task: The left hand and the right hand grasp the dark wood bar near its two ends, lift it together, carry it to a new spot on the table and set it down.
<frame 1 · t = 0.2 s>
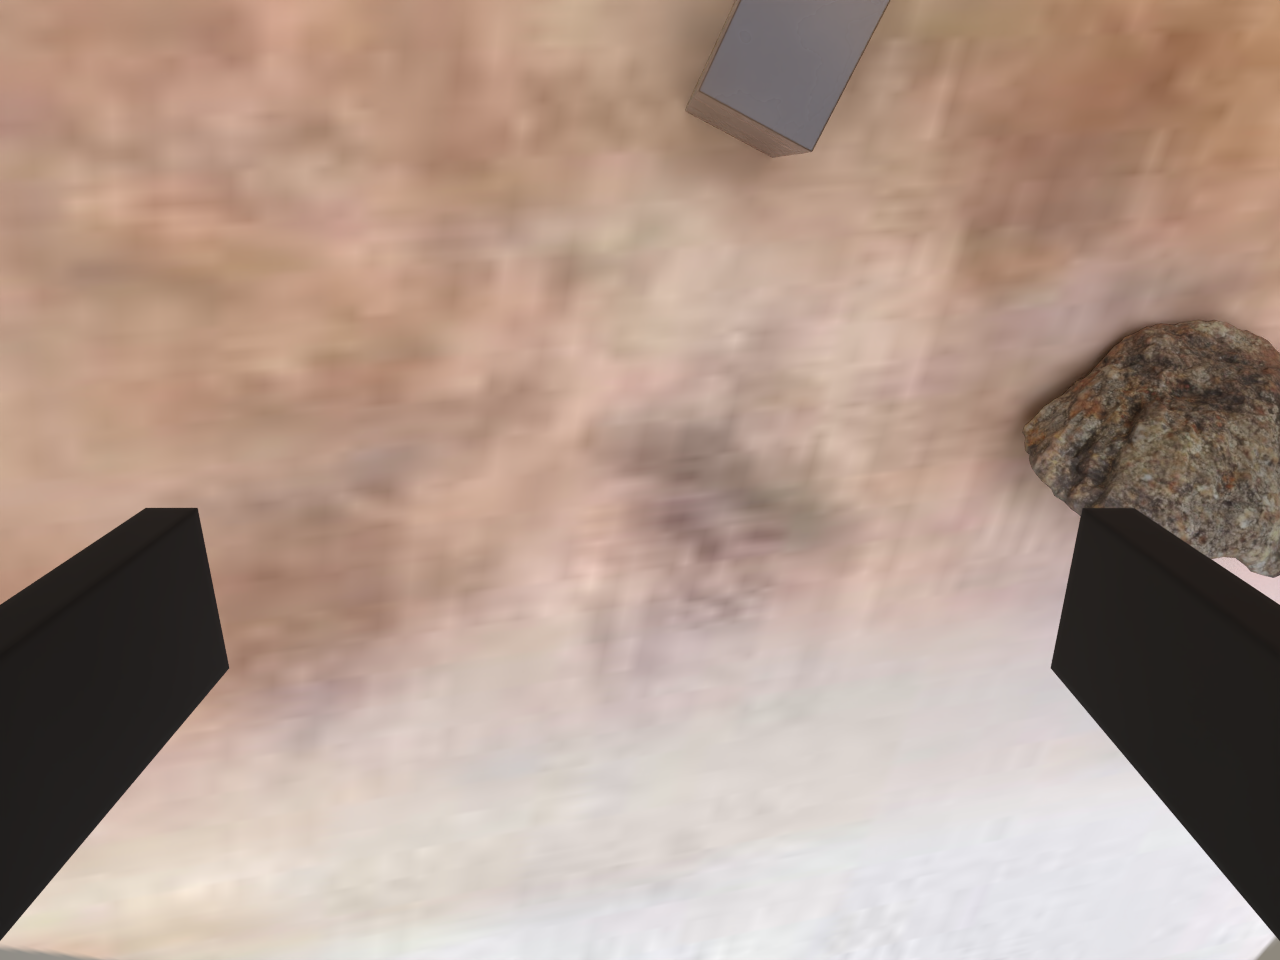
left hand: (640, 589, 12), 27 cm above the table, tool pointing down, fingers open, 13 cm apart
rock: (1164, 421, 40), on the table
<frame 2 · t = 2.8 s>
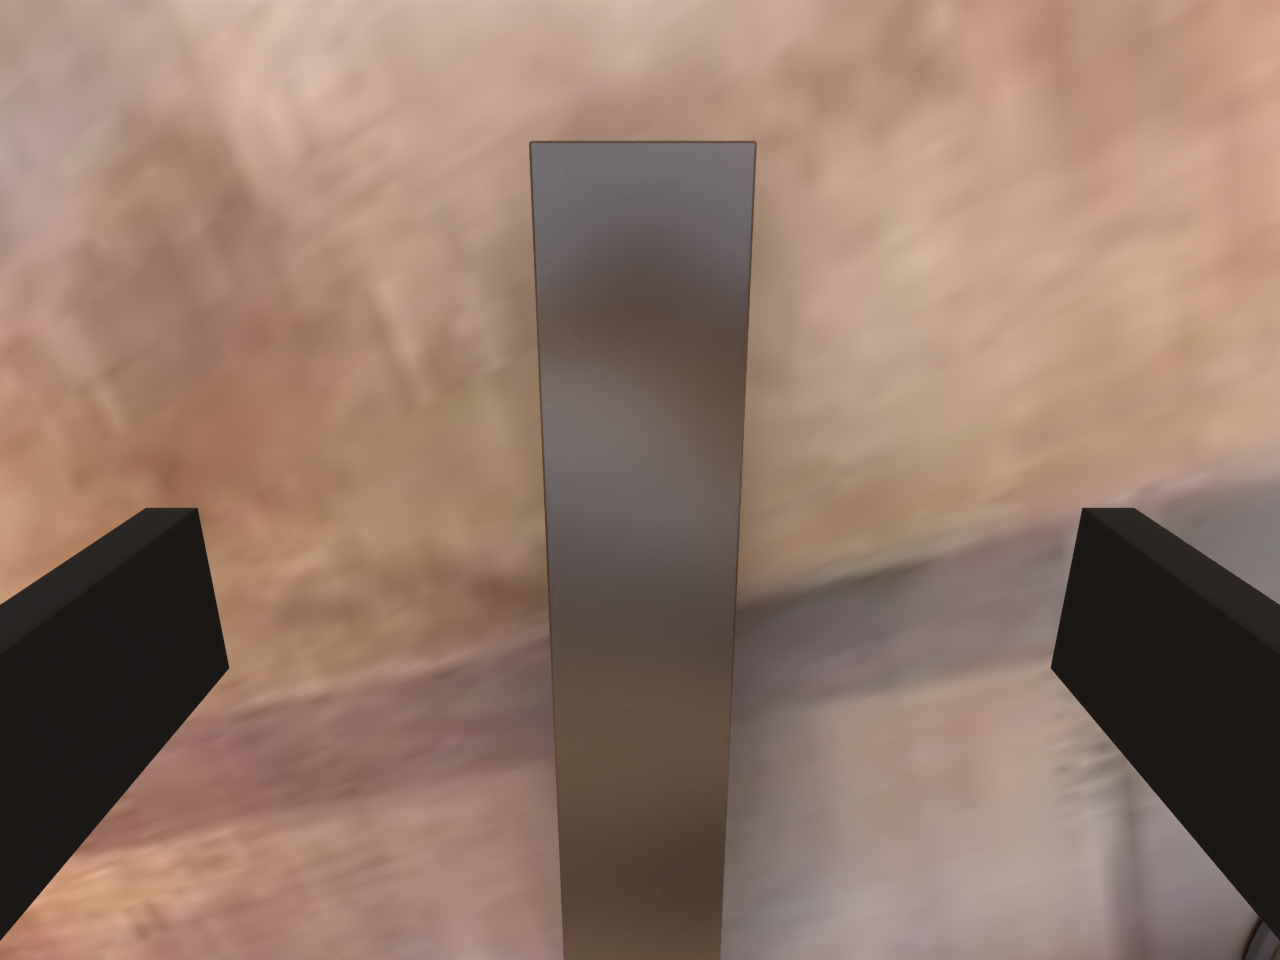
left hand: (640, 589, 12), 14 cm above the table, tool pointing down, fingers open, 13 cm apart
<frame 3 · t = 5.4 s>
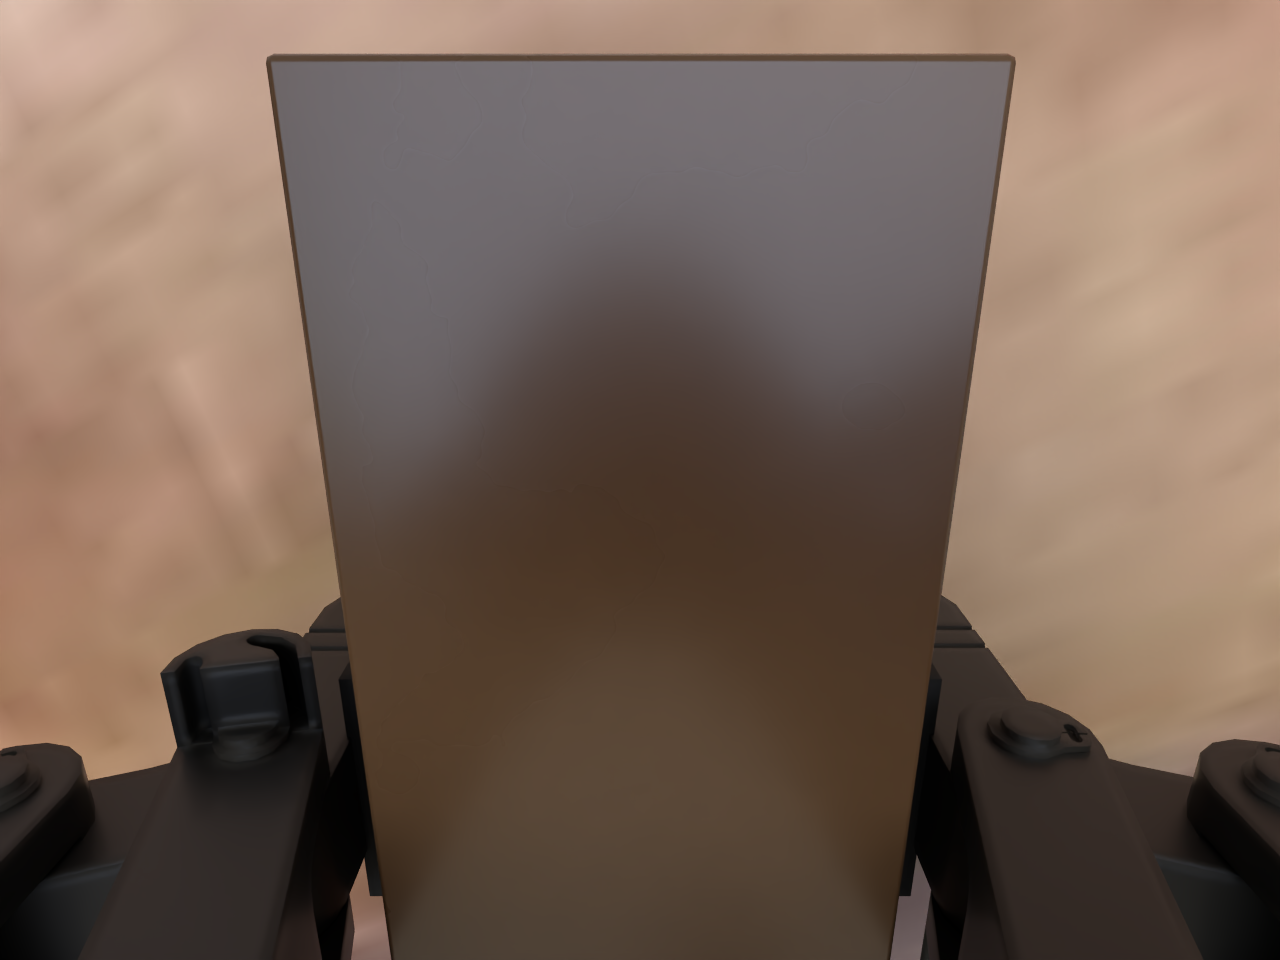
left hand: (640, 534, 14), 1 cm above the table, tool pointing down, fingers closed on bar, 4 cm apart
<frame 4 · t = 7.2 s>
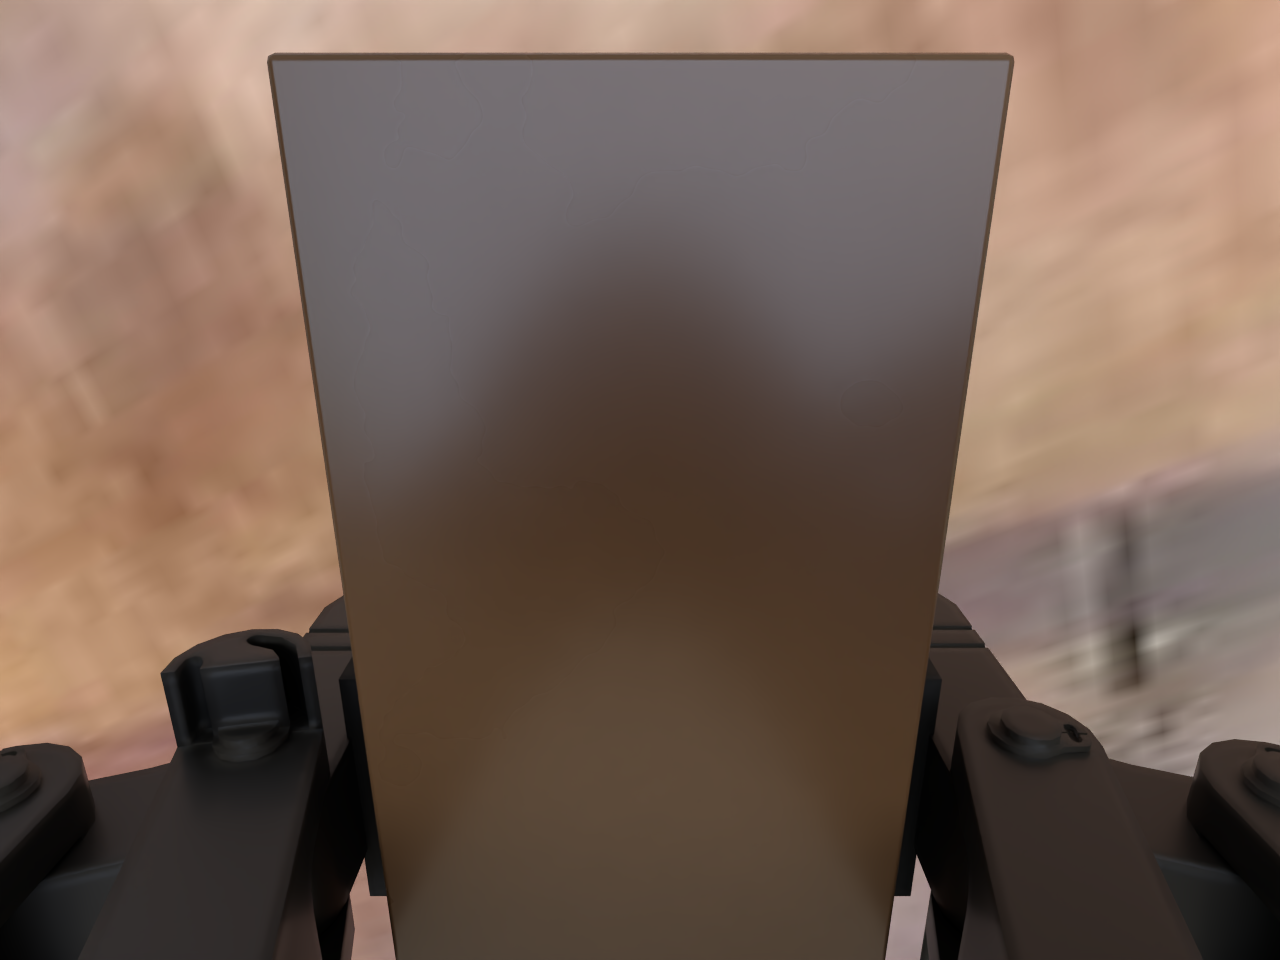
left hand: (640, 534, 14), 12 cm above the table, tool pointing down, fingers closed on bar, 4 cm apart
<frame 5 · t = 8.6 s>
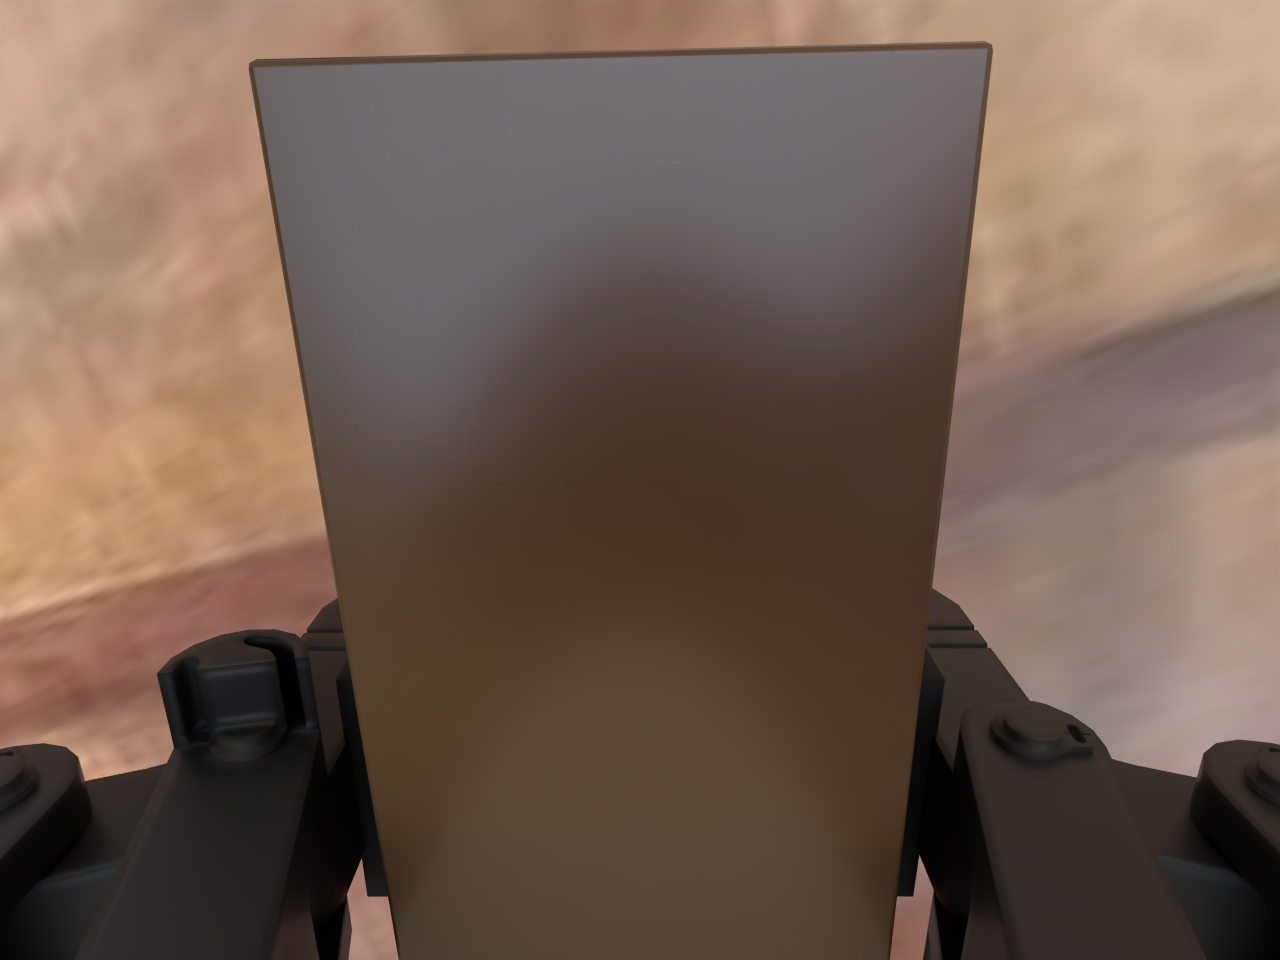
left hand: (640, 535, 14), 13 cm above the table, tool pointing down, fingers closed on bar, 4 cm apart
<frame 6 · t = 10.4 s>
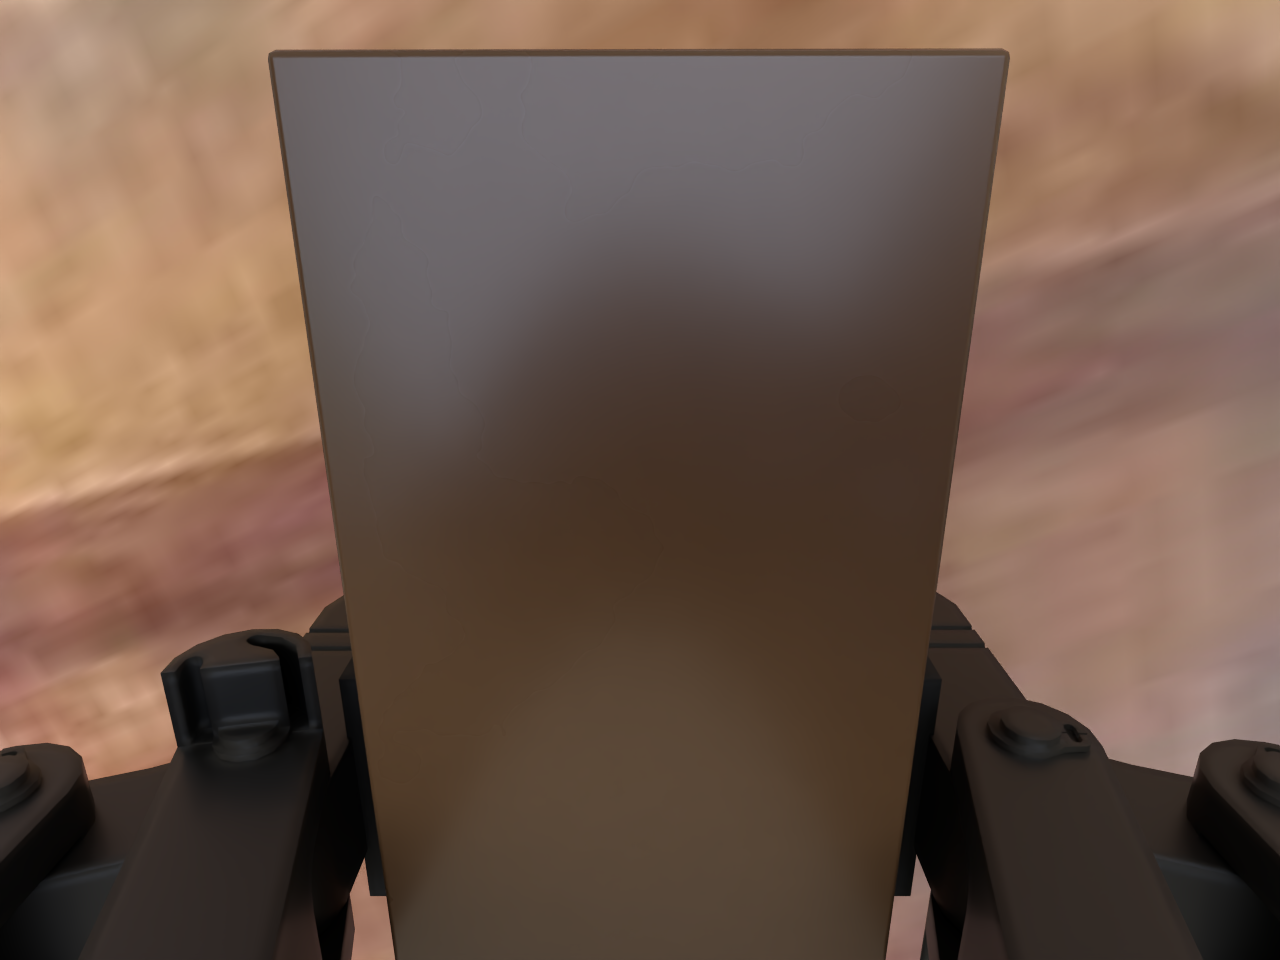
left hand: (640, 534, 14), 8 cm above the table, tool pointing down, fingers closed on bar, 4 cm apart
when the left hand's fingers open (2 cm above the table, at t = 11.6 s): bar drops 1 cm, on the table.
when the right hand's fingers open (5 cm above the table, at t = 11.7 s): bar stays where it is, on the table.
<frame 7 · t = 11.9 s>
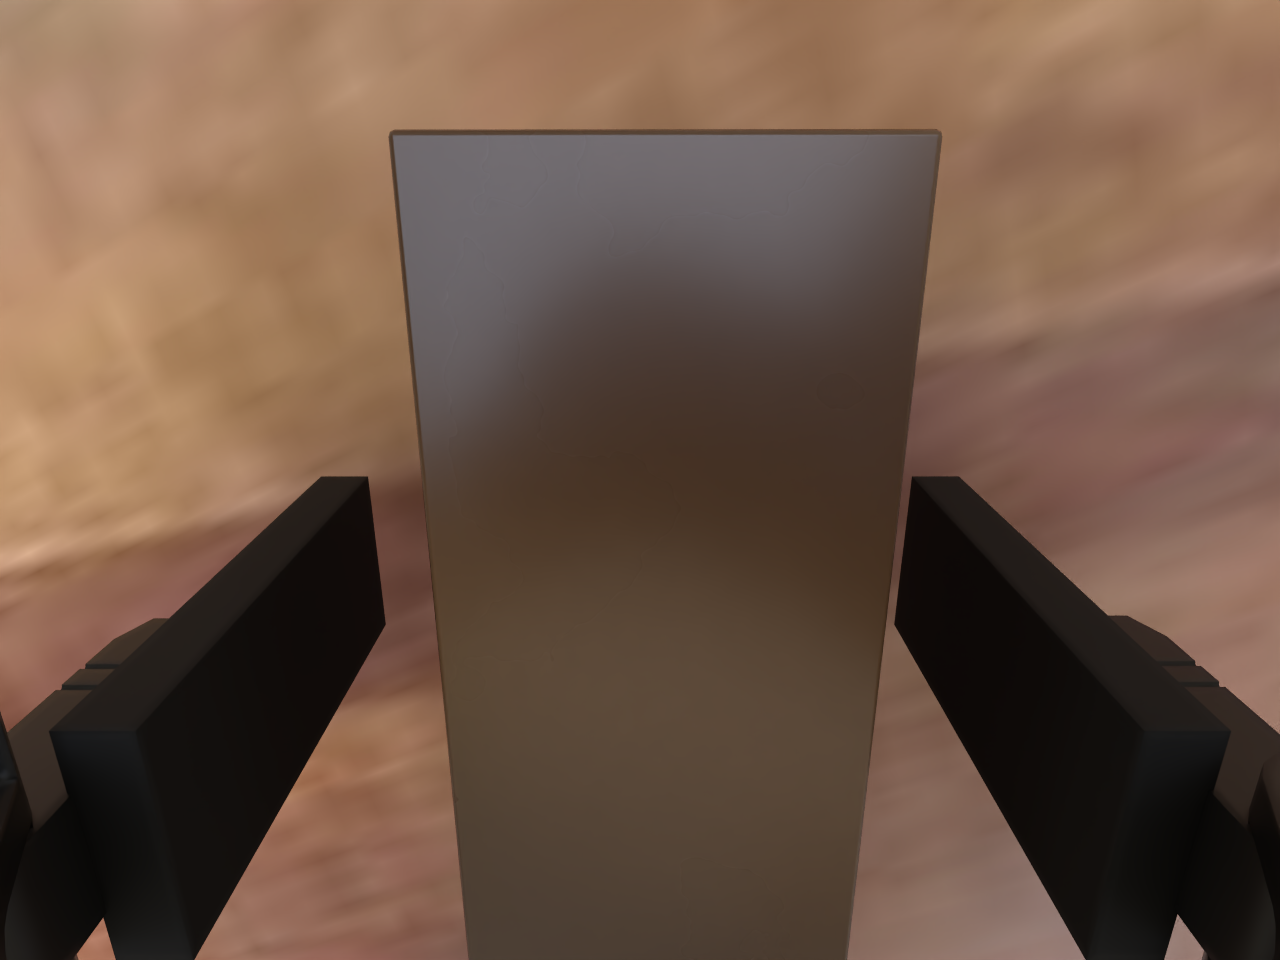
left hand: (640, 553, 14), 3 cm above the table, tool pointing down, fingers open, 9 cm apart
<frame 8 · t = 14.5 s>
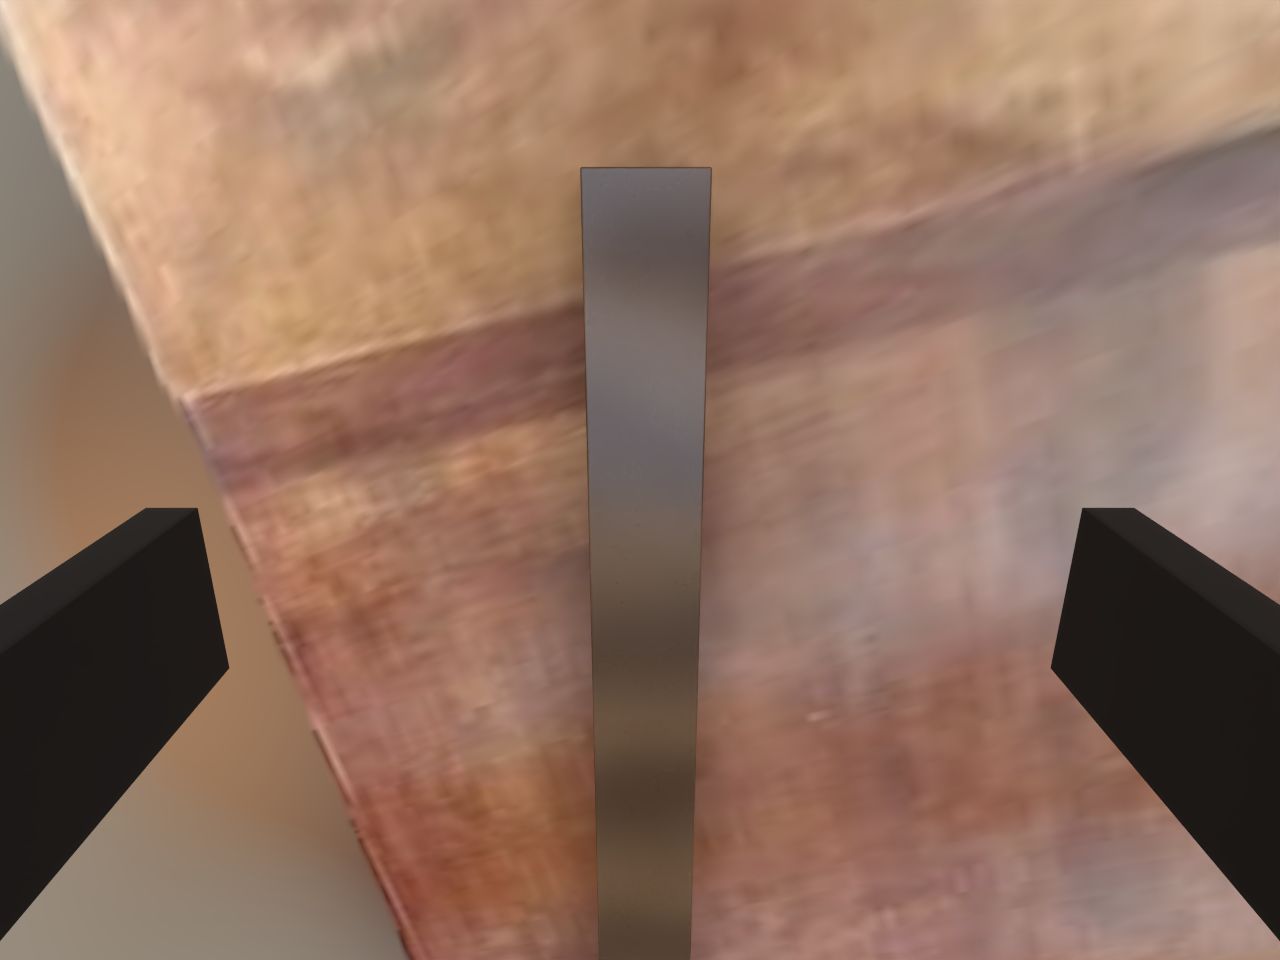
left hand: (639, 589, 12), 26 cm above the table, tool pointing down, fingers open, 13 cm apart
bar: (643, 816, 47), on the table
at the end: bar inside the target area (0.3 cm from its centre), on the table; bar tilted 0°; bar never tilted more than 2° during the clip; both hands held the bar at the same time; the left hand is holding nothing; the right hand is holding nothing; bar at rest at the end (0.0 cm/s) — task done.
